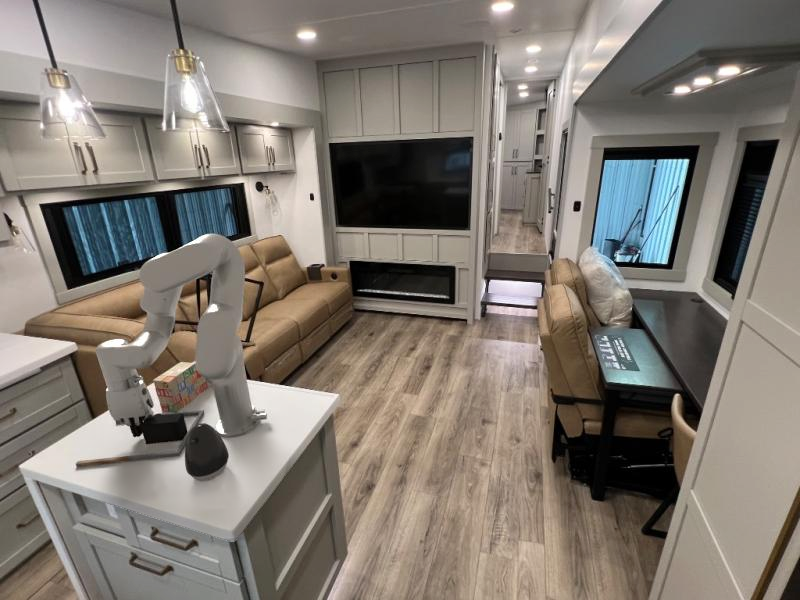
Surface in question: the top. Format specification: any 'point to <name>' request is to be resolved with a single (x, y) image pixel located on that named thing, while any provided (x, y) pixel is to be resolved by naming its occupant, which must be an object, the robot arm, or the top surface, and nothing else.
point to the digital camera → (164, 428)
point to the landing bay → (182, 445)
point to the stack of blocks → (180, 386)
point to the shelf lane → (104, 460)
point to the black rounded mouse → (205, 453)
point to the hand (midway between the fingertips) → (139, 433)
